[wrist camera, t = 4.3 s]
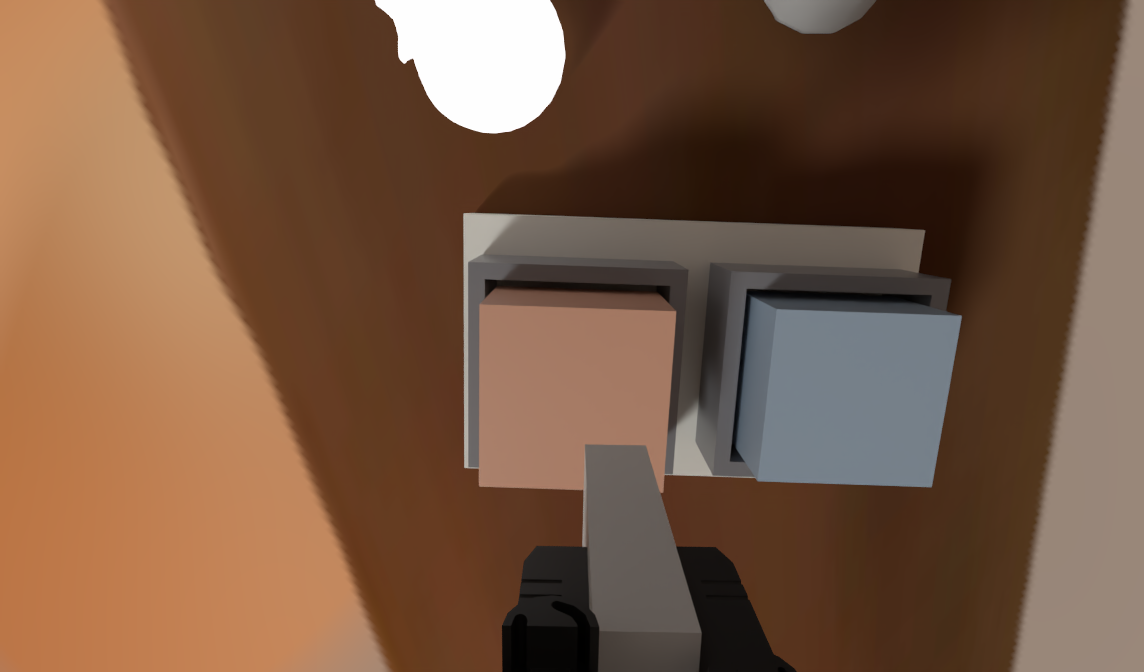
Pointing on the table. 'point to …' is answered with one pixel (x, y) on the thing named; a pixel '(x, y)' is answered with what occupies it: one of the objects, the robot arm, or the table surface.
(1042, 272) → the table surface
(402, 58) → the figurine
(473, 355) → the key housing
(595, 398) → the terracotta key
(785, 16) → the salt shaker
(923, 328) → the slate blue key
